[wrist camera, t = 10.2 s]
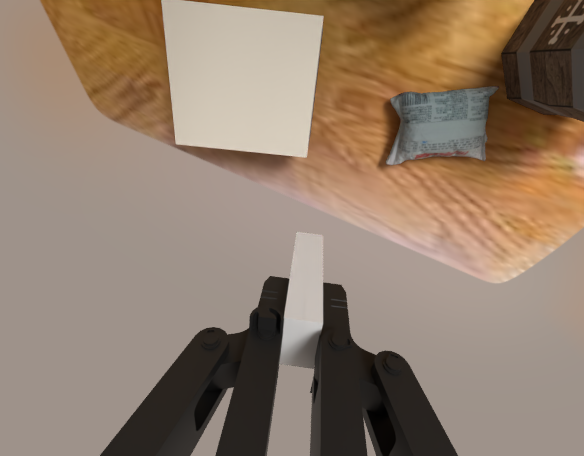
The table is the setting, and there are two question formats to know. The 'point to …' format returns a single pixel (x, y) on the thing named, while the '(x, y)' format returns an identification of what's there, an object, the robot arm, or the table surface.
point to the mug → (548, 59)
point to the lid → (241, 76)
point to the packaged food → (441, 124)
